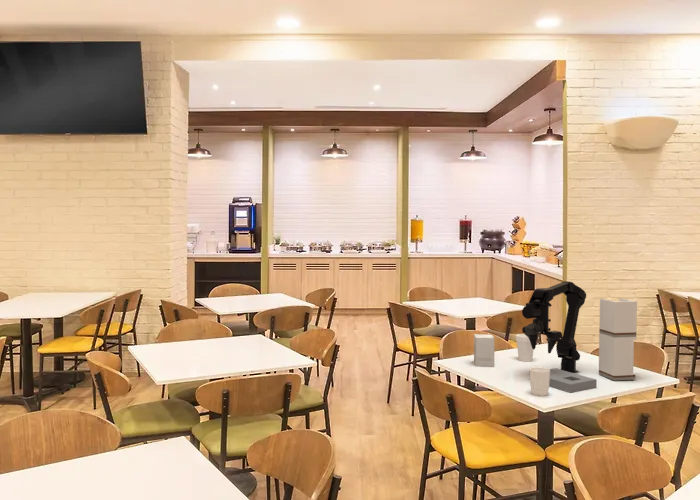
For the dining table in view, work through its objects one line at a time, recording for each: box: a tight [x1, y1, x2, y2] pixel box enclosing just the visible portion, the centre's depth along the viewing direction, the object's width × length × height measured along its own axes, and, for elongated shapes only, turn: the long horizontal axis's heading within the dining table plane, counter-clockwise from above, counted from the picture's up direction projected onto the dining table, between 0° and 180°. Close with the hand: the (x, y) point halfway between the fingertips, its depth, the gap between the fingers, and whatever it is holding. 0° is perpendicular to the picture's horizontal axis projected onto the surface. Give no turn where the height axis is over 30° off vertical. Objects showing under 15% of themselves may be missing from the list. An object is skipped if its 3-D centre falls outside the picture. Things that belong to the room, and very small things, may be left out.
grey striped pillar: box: [598, 297, 638, 381], centre depth 260 cm, size 11×11×35 cm
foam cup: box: [515, 333, 535, 363], centre depth 291 cm, size 10×9×13 cm
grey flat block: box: [548, 367, 598, 394], centre depth 248 cm, size 16×22×4 cm
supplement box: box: [473, 333, 495, 368], centre depth 281 cm, size 9×9×15 cm
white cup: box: [529, 366, 550, 397], centre depth 234 cm, size 8×8×10 cm
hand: (541, 351), depth 259 cm, fingers open, 9 cm apart
